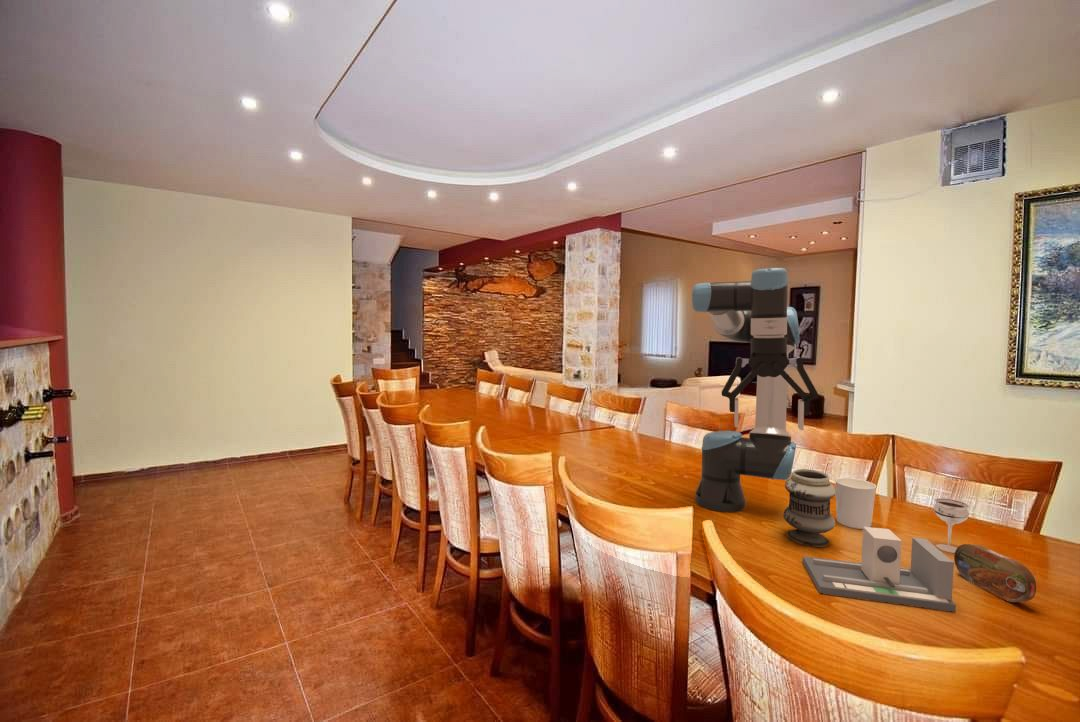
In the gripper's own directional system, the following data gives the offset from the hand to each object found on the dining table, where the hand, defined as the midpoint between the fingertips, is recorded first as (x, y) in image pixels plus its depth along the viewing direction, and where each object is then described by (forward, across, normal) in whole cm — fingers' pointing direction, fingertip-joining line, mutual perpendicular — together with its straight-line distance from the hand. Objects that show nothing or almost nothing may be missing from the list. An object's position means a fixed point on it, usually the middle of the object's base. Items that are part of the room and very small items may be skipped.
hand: (767, 427), depth 109 cm
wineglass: (+36, +44, +25) cm, 62 cm away
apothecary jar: (+34, +12, +18) cm, 41 cm away
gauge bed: (+34, +21, -2) cm, 40 cm away
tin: (+35, +44, +4) cm, 57 cm away
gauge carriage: (+32, +22, -4) cm, 39 cm away
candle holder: (+35, +26, +35) cm, 56 cm away
